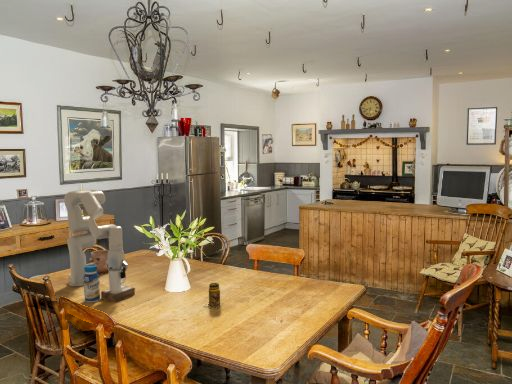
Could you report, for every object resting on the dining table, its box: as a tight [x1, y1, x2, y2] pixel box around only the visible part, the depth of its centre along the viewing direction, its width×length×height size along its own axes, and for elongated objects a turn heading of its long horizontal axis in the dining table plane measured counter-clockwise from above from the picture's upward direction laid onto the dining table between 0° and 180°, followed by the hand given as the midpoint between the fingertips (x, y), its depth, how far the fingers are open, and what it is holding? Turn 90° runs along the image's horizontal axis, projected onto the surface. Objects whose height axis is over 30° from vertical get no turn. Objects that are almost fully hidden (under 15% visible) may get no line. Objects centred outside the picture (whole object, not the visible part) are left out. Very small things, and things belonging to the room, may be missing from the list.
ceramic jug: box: [88, 249, 109, 274], centre depth 300 cm, size 18×14×14 cm
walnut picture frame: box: [100, 284, 136, 303], centre depth 248 cm, size 12×14×4 cm
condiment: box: [203, 282, 223, 309], centre depth 231 cm, size 7×8×12 cm
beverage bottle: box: [83, 263, 101, 303], centre depth 241 cm, size 8×8×20 cm
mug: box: [107, 268, 127, 292], centre depth 247 cm, size 10×7×12 cm, turn 133°
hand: (117, 276), depth 247 cm, fingers open, 9 cm apart
